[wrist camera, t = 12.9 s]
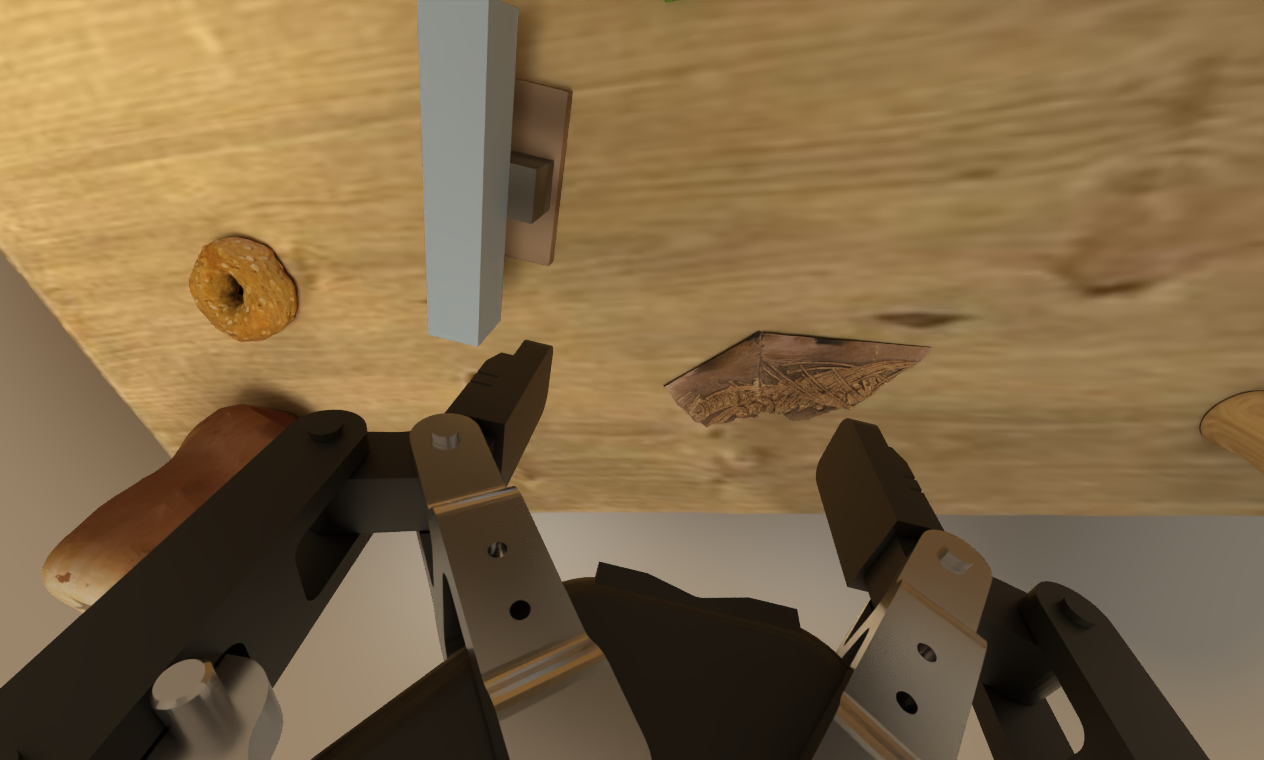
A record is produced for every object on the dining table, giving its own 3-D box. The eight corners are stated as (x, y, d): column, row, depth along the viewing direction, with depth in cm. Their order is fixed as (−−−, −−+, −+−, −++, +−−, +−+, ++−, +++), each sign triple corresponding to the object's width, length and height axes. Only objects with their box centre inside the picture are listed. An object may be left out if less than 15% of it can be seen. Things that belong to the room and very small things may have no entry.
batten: (457, -7, 30) (416, -23, 25) (519, 9, 30) (488, -5, 25) (456, 309, 41) (428, 334, 37) (500, 320, 41) (477, 346, 37)
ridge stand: (461, 65, 37) (420, 60, 32) (572, 92, 37) (550, 92, 32) (460, 239, 45) (427, 259, 39) (553, 261, 45) (532, 285, 39)
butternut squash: (251, 450, 64) (30, 628, 43) (233, 370, 57) (-43, 536, 36) (351, 479, 65) (182, 669, 43) (346, 403, 57) (140, 586, 36)
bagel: (312, 266, 49) (277, 282, 44) (296, 345, 54) (263, 365, 50) (215, 212, 47) (169, 224, 43) (208, 299, 52) (167, 317, 48)
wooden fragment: (672, 427, 54) (671, 433, 53) (655, 342, 48) (654, 346, 47) (920, 406, 48) (925, 412, 48) (934, 307, 43) (938, 312, 42)
